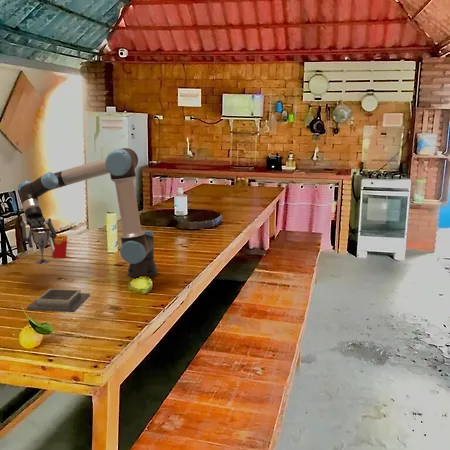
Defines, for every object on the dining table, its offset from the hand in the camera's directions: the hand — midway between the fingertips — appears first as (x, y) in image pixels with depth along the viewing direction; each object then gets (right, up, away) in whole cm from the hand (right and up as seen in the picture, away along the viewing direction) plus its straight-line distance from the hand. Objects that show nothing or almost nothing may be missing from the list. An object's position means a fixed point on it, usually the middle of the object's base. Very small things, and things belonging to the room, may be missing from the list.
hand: (44, 251), depth 234 cm
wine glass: (-2, -5, +4) cm, 7 cm away
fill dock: (+11, -21, -12) cm, 27 cm away
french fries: (-11, -6, +58) cm, 60 cm away
